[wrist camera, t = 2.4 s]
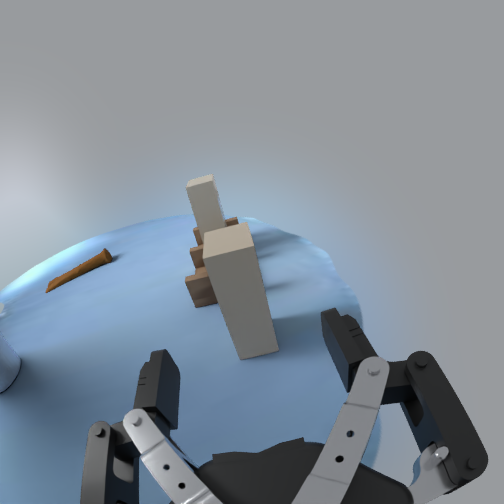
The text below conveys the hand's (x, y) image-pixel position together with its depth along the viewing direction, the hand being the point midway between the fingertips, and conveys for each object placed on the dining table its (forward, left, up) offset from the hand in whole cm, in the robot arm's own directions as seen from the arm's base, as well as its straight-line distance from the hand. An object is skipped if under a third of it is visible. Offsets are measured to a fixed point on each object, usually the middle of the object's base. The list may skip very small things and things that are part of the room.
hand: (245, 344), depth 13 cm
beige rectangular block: (-6, +10, -11) cm, 16 cm away
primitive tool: (-53, +16, -12) cm, 57 cm away
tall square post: (-19, +26, -10) cm, 34 cm away
